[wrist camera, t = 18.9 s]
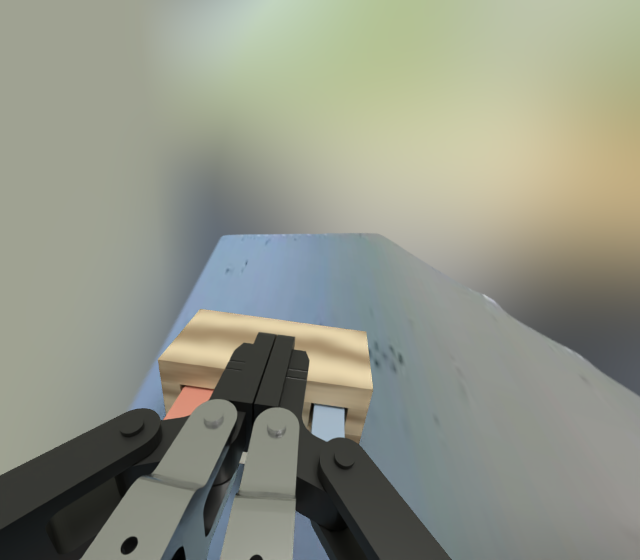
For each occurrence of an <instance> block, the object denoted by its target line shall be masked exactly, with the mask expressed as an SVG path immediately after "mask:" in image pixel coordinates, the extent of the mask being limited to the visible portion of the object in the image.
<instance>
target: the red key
mask: <svg viewBox="0 0 640 560" xmlns="http://www.w3.org/2000/svg"><path fill="white" fill-rule="evenodd" d="M213 391H214V389H210V388H203V387H196V386H189V385H185V387H184V388H183V390H182V391H181V393H180V394H179V396H178V398H177V399H176V401H175V402H174V404H173V405H172V407H171V409H170V410H169V412H168V413H167V415H166V416H165V418H164V419H163V420H167V419H174V418H180V417H185V416H188V415H191V414H192V412H193V411H194V410H195V409H196V408H197V407H198V406H199V405H201V404H202V403H204V402H206V401H208V400H209V399H210V397H211V395H212V393H213Z"/></svg>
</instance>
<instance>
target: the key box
mask: <svg viewBox="0 0 640 560" xmlns="http://www.w3.org/2000/svg"><path fill="white" fill-rule="evenodd" d="M258 332H264V333H271V334H277V335H278V334H279V335H286V336H293V337H295V347H294V349H295V350H302V351H306V353H307V355H308V358H309V360H310V362H309V369H308V377H307V385H306V392H305V399H304V406H303V412H302V420H303V423H304V425H305V427H306V428H307V429H308V430H309V431H310V432H311V424H312V415H313V406H314V403H316V404H323V405H330V406H338V407H344V430H345V438H348V439H351V440H353V441H355V442H356V443H358V444H359V442H360V438H361V434H362V430H363V426H364V423H365V419H366V415H367V411H368V407H369V404H370V400H371V396H372V392H373V384H372V376H371V368H370V360H369V352H368V344H367V335H366V332H364V331H356V330H349V329H342V328H335V327H327V326H320V325H313V324H306V323H298V322H291V321H284V320H277V319H269V318H262V317H255V316H248V315H240V314H233V313H226V312H219V311H211V310H204V309H200V310H199V311H198V312H197V314H196V315H195V316H194V317H193V318H192V320H191V321H190V322H189V323H188V324H187V325H186V327H185V328H184V329H183V330H182V331H181V333H180V334H179V335H178V336H177V337H176V339H175V340H174V341H173V342H172V343H171V345H170V346H169V347H168V348H167V349H166V350H165V352H164V353H163V354H162V355H161V356H160V358H159V359H158V363H159V370H160V377H161V383H162V390H163V397H164V403H165V410H166V415H167V413H168V412H169V410H170V409H171V407H172V405H173V404H174V402H175V401H176V399H177V398H178V396H179V394H180V393H181V391H182V390H183V388H184V387H185V385H189V386H196V387H203V388H210V389H215V387H216V385H217V383H218V381H219V379H220V377H221V375H222V373H223V371H224V369H225V367H226V365H227V364H228V362H229V360H230V358H231V356H232V354H233V352H234V350H235V349H236V348H238V347H239V346H240V345H241V344H243V343H251V344H253V343H254V341H255V339H256V337H257V334H258Z"/></svg>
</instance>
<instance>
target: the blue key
mask: <svg viewBox="0 0 640 560" xmlns="http://www.w3.org/2000/svg"><path fill="white" fill-rule="evenodd" d="M311 433H312V434H313V435H315V436H317V437H318V438H320V439H322V440H325V441H327V442H328V441H329V440H331V439H333V438H337V437H343V438H345V430H344V407H338V406H330V405H323V404H316V403H314V406H313V415H312V424H311Z"/></svg>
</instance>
